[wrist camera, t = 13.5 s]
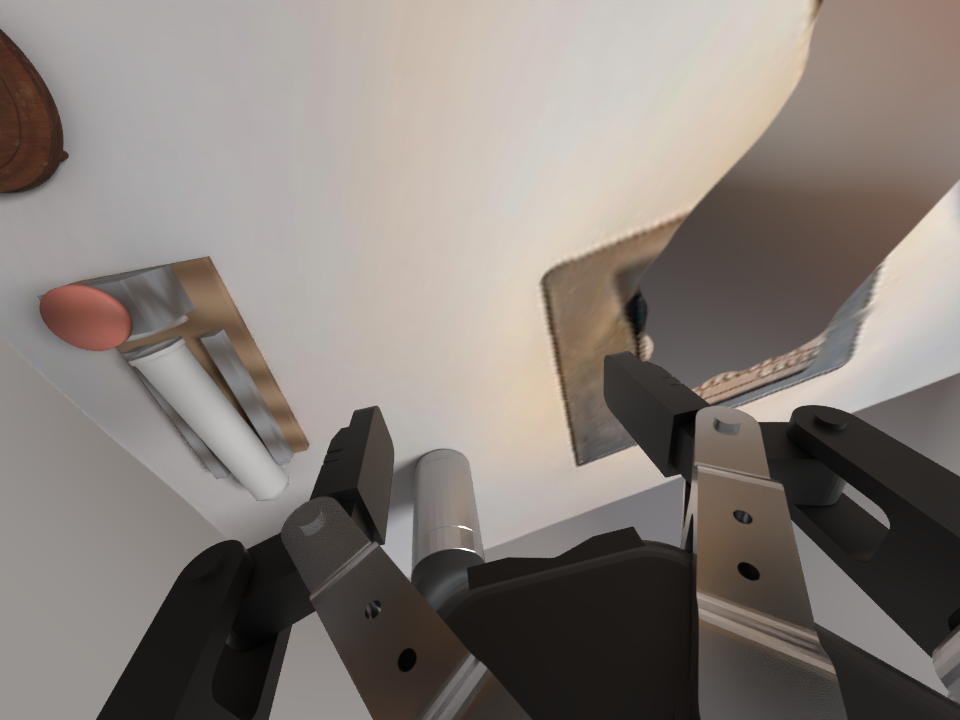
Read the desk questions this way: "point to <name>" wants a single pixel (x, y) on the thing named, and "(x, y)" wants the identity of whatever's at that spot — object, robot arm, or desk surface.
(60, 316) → the pipe rack
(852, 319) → the desk surface
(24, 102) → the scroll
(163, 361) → the tube
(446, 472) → the robot arm
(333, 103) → the desk surface
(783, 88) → the desk surface
